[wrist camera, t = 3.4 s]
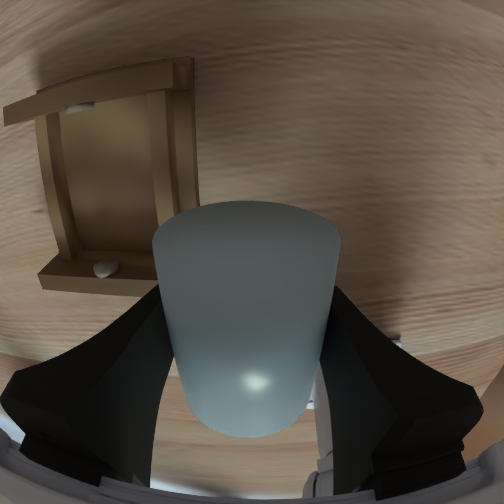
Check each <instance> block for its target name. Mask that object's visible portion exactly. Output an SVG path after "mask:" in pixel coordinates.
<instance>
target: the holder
mask: <svg viewBox="0 0 504 504" xmlns="http://www.w3.org/2000/svg"><path fill="white" fill-rule="evenodd" d="M36 92H37V94H36V95H33V96H31V97H28V98H25V99H23V100H20V101H18V102H15V103H13V104H10V105H8V106H5V107H3V115H4V126H8V125H12V124H15V123H20V122H24V121H28V120H32V119H35V127H36V137H37V145H38V153H39V160H40V167H41V173H42V179H43V184H44V190H45V195H46V200H47V205H48V209H49V214H50V218H51V222H52V226H53V230H54V234H55V238H56V242H57V245H58V249H59V252H60V253H58V254H57V255H56V256H55V257H54V258H53V259H52V260H51V261H50V262H49V263H48V264H47V265H46V266H45V267H44V268H43V269H42V270H41V271H40V272H39V273H38V274H37V275H38V278H39V280H40V283H41V286H42V288H43V289H46V290H56V291H67V292H79V293H91V294H104V295H119V296H135V297H143V296H145V295H146V294H147V293H148V292H149V291H150V290H151V289H152V288H154V287H155V286H156V285H157V284H158V277H157V272H156V266H155V260H154V254H153V248H152V239H153V236H154V234H155V232H156V230H157V229H158V228H159V227H160V226H161V225H162V224H163V223H164V222H166V221H167V220H169V219H170V218H172V217H174V216H175V215H177V214H180V213H182V212H184V211H187V210H190V209H193V208H196V207H200V202H199V187H198V170H197V152H196V130H195V101H194V58H192V57H190V56H187V57H178V58H170V59H163V60H156V61H150V62H144V63H138V64H133V65H128V66H123V67H118V68H113V69H109V70H105V71H101V72H96V73H93V74H89V75H85V76H81V77H78V78H74V79H71V80H68V81H64V82H61V83H58V84H55V85H52V86H49V87H46V88H43V89H40V90H37V91H36Z"/></svg>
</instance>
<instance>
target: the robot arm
mask: <svg viewBox="0 0 504 504" xmlns="http://www.w3.org/2000/svg"><path fill="white" fill-rule="evenodd" d="M401 347H402V343H401V341H400V340H390V339H389V338H388V337H386V336H385V335H384V334H383V333H382V332H381V331H380V330H379V329H377V328H376V327H375V326H374V325H373V324H372V323H371V322H370V321H369V320H368V319H367V318H366V317H365V316H364V315H363V314H362V313H361V312H360V311H359V310H358V309H357V308H356V306H355V305H354V304H353V303H352V302H351V301H350V300H349V299H348V298H347V297H346V295H345V294H344V293H343V292H342V291H341V290H340V289H339V288H338V287H337V286H334V290H333V295H332V301H331V306H330V311H329V317H328V322H327V327H326V331H325V336H324V341H323V346H322V350H321V355H320V359H319V363H318V368H317V372H316V376H315V380H314V384H313V388H312V392H311V396H310V400H309V403H308V405H307V407H306V409H314V414H315V422H316V431H317V440H318V449H319V455H320V457H321V459H318V460H317V466H318V471H314V472H313V473H311V474H310V476H309V477H308V479H307V481H306V483H305V485H304V488H303V494H302V498H299V499H271V500H259V499H231V498H217V497H206V496H197V495H189V494H182V493H175V492H169V491H163V490H158V489H153V488H150V475H151V460H152V450H153V441H154V434H155V427H156V420H157V415H158V409H159V404H160V399H161V395H162V391H163V388H164V385H165V382H166V379H167V376H168V373H169V370H170V367H171V364H172V361H173V357H174V353H173V349H172V344H171V340H170V336H169V331H168V327H167V322H166V318H165V313H164V308H163V303H162V298H161V293H160V288H159V283H158V284H157V285H156V286H155V287H154V288H152V289H151V290H150V291H149V292H148V293H147V294H146V295H145V296H143V297H142V298H141V299H140V300H139V301H138V302H137V303H136V304H134V305H133V306H132V307H131V308H130V309H129V310H128V311H126V312H125V313H124V314H123V315H121V316H120V317H119V318H118V319H116V320H115V321H114V322H113V323H111V324H110V325H109V326H108V327H106V328H105V329H103V330H102V331H101V332H99V333H98V334H96V335H95V336H93V337H92V338H90V339H88V340H87V341H85V342H83V343H82V344H80V345H78V346H76V347H74V348H73V349H71V350H69V351H67V352H65V353H63V354H61V355H59V356H57V357H55V358H52V359H50V360H47V361H45V362H42V363H40V364H37V365H34V366H31V367H28V368H25V369H22V370H18V371H15V373H14V374H13V376H12V378H11V379H10V381H9V383H8V384H7V386H6V388H5V389H4V391H3V393H2V394H1V396H0V403H1V405H2V407H3V409H4V410H5V412H6V413H7V414H8V415H9V417H10V418H11V419H12V420H13V421H14V422H15V423H16V424H17V425H18V426H19V428H20V429H21V430H22V431H23V432H24V433H25V434H26V435H25V437H24V439H23V442H22V444H20V443H18V442H16V441H14V440H12V439H11V438H10V437H9V436H8V434H7V433H6V432H4V431H3V430H2V429H1V428H0V496H1V497H3V498H4V499H6V500H7V501H9V502H11V503H12V504H504V439H503V440H501V441H499V442H497V443H495V444H493V445H492V446H490V447H489V448H487V449H486V450H485V451H483V452H482V453H481V454H480V455H479V457H478V458H475V459H473V460H470V461H468V462H465V463H464V460H463V457H462V454H461V451H463V450H464V444H463V441H462V439H463V438H464V437H465V436H466V435H467V434H468V433H469V432H470V430H471V429H472V428H473V427H474V426H475V425H476V424H477V423H478V421H479V420H480V418H481V416H482V414H483V412H484V411H483V406H482V404H481V402H480V400H479V398H478V396H477V394H476V392H475V390H474V388H473V387H472V386H470V385H468V384H465V383H463V382H460V381H458V380H455V379H453V378H450V377H448V376H446V375H444V374H442V373H440V372H438V371H436V370H434V369H433V368H431V367H429V366H427V365H426V364H424V363H422V362H421V361H419V360H418V359H416V358H414V357H413V356H411V355H410V354H408V353H407V352H406V351H404V350H403V349H401Z"/></svg>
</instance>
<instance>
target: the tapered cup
mask: <svg viewBox="0 0 504 504" xmlns="http://www.w3.org/2000/svg"><path fill="white" fill-rule="evenodd" d="M340 247H341V238H340V235H339V233H338V231H337V230H336V228H335V227H334V226H333V225H332V224H331V223H330V222H328V221H327V220H326V219H324V218H322V217H321V216H319V215H317V214H315V213H313V212H310V211H308V210H305V209H302V208H298V207H295V206H291V205H286V204H281V203H274V202H265V201H230V202H221V203H214V204H209V205H204V206H200V207H196V208H193V209H190V210H187V211H184V212H182V213H180V214H177V215H175V216H174V217H172V218H170V219H169V220H167V221H166V222H164V223H163V224H162V225H161V226H160V227H159V228H158V229H157V230H156V232H155V234H154V236H153V239H152V248H153V254H154V260H155V266H156V272H157V277H158V283H159V288H160V293H161V298H162V303H163V308H164V313H165V318H166V322H167V327H168V331H169V336H170V340H171V344H172V349H173V353H174V357H175V361H176V365H177V369H178V373H179V376H180V380H181V384H182V388H183V391H184V395H185V398H186V401H187V404H188V406H189V408H190V410H191V411H192V413H193V414H194V415H195V416H196V417H197V419H198V420H200V421H201V422H202V423H203V424H204V425H206V426H207V427H209V428H211V429H212V430H215V431H217V432H219V433H222V434H225V435H228V436H233V437H240V438H257V437H263V436H267V435H271V434H274V433H276V432H279V431H281V430H283V429H285V428H286V427H288V426H290V425H291V424H292V423H294V422H295V421H296V420H297V419H298V418H299V417H300V416H301V415H302V413H303V412H304V410H305V409H306V407H307V405H308V403H309V400H310V396H311V392H312V388H313V384H314V380H315V376H316V372H317V368H318V363H319V359H320V355H321V350H322V346H323V341H324V336H325V331H326V327H327V322H328V317H329V311H330V306H331V301H332V295H333V290H334V284H335V278H336V272H337V266H338V260H339V253H340Z"/></svg>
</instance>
